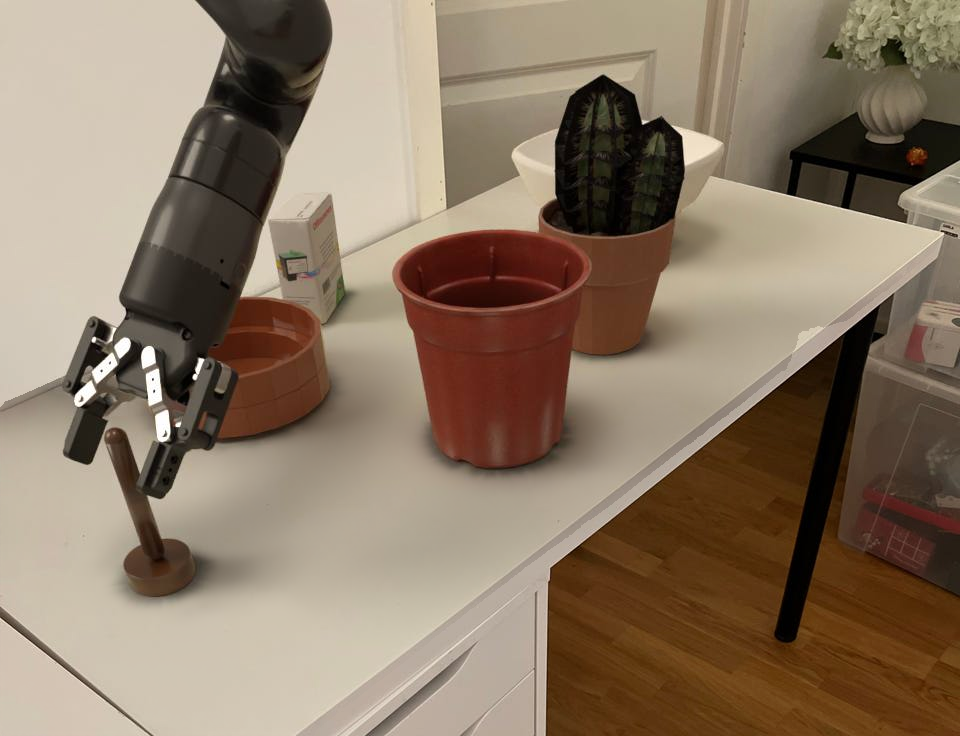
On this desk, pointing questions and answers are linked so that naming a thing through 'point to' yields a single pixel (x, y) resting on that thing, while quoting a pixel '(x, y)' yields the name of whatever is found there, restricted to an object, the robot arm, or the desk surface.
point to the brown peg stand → (147, 531)
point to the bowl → (698, 148)
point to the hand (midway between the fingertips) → (111, 477)
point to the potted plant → (614, 209)
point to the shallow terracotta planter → (271, 365)
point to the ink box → (308, 252)
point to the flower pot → (494, 339)
